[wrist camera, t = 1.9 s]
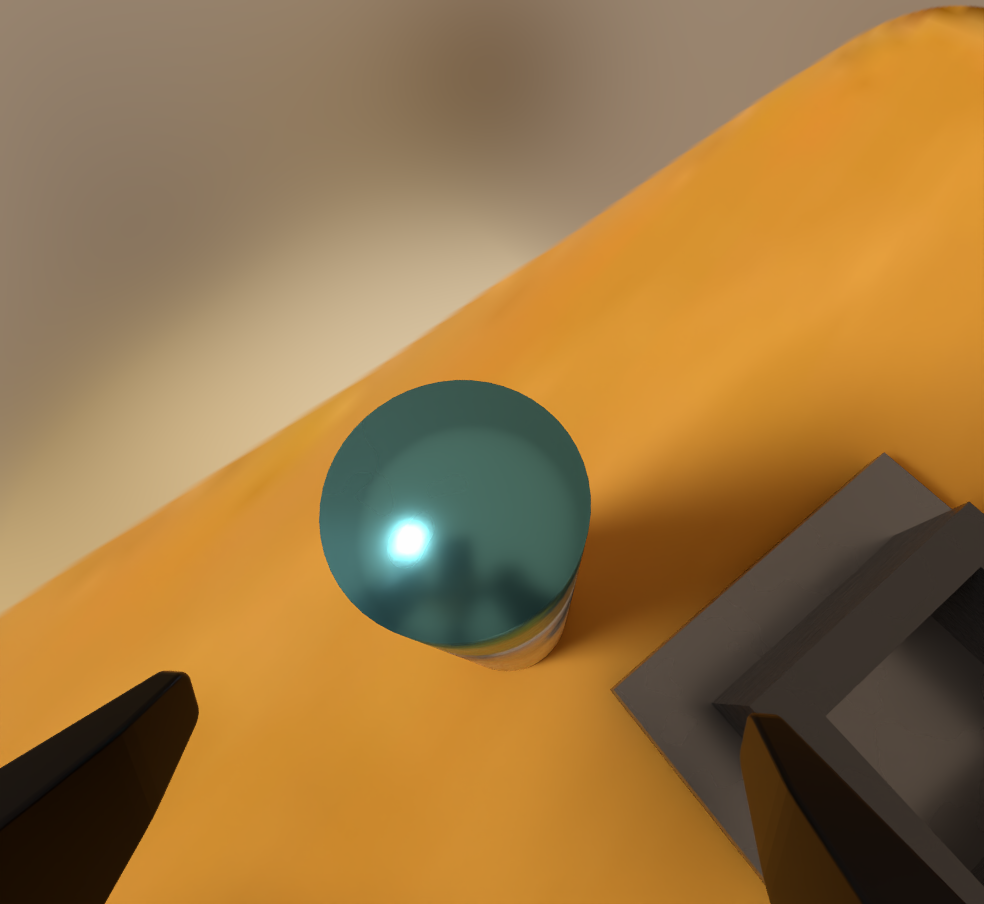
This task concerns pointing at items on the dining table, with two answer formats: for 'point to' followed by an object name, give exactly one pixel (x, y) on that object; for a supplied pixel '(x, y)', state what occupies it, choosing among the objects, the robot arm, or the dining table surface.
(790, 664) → the docking mount
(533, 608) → the teal and silver cylinder
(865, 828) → the robot arm
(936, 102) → the dining table surface
